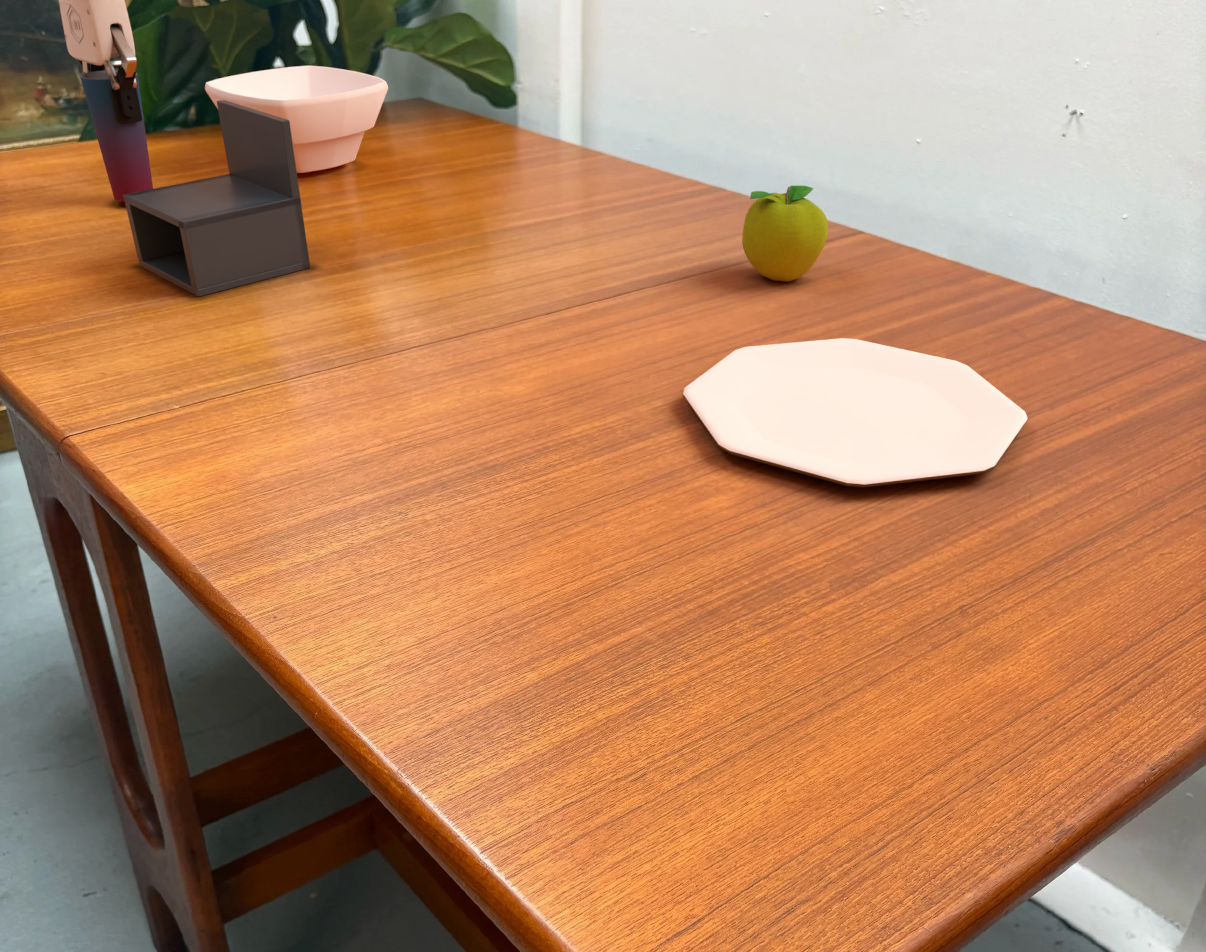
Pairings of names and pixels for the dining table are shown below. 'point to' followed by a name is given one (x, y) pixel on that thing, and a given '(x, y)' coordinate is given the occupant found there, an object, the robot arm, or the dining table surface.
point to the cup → (118, 138)
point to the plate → (855, 412)
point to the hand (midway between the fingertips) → (117, 116)
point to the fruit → (784, 233)
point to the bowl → (311, 108)
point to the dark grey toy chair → (227, 212)
